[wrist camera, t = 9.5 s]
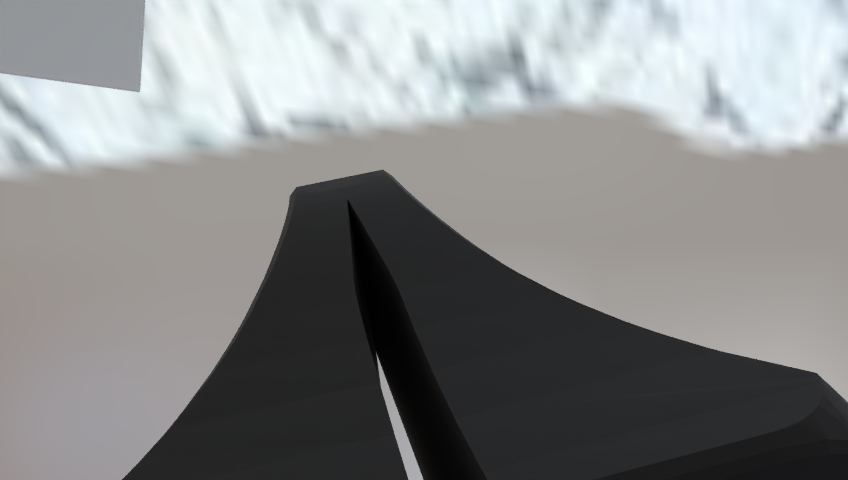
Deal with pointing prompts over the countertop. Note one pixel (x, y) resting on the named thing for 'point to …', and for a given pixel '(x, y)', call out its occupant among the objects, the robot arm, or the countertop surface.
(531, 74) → the countertop surface
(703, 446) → the robot arm
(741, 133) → the countertop surface
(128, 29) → the slate mat
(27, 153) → the countertop surface
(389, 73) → the countertop surface
